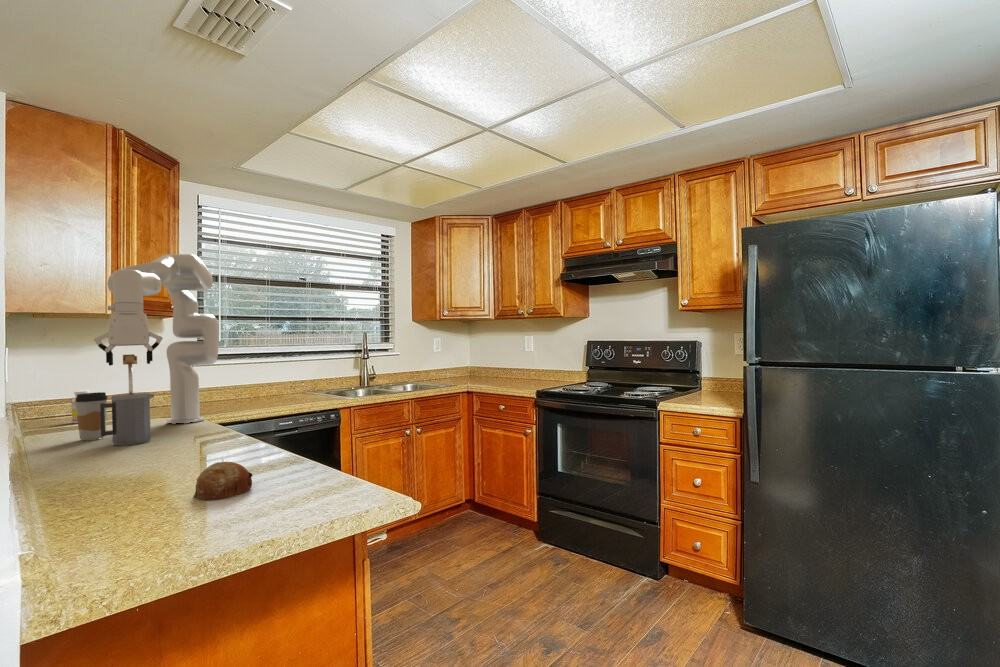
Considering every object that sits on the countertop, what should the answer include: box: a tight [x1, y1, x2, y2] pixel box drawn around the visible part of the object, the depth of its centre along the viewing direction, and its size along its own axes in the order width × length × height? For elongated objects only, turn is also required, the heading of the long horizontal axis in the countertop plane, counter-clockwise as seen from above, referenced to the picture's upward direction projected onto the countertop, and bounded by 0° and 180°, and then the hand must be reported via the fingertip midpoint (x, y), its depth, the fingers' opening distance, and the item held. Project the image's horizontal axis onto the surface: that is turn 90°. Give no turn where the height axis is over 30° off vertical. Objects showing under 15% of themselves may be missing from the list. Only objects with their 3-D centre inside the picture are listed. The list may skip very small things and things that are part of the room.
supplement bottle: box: [71, 389, 90, 424], centre depth 208 cm, size 7×7×13 cm
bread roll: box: [193, 461, 253, 502], centre depth 101 cm, size 10×10×8 cm
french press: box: [100, 391, 155, 446], centre depth 157 cm, size 9×13×15 cm
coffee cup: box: [75, 392, 108, 441], centre depth 167 cm, size 8×8×15 cm
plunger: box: [122, 353, 138, 394], centre depth 158 cm, size 6×6×19 cm
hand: (130, 364), depth 158 cm, fingers open, 9 cm apart
